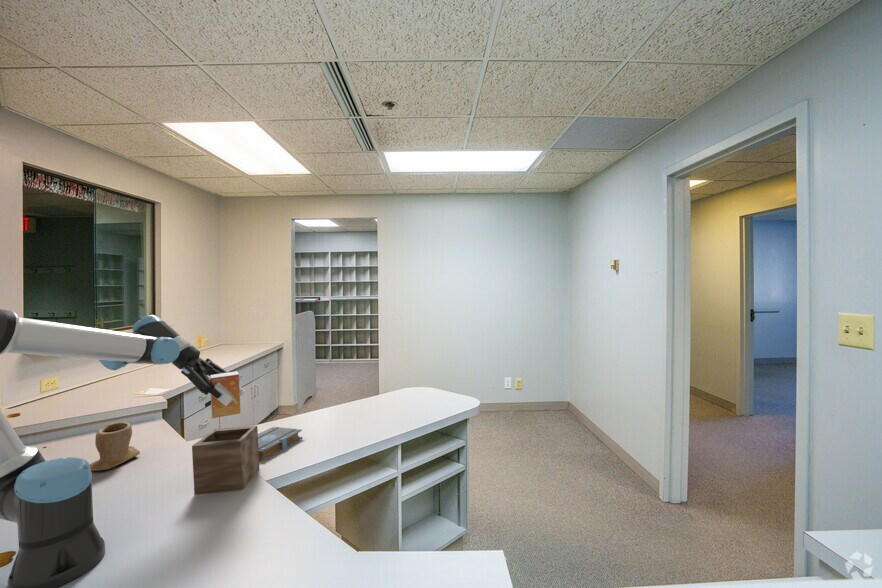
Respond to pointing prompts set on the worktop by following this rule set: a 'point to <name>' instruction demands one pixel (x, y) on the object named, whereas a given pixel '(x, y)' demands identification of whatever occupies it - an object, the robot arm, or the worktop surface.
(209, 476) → the open wooden box
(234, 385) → the small box
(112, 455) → the stone cup
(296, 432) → the book
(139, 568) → the worktop surface
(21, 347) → the robot arm
